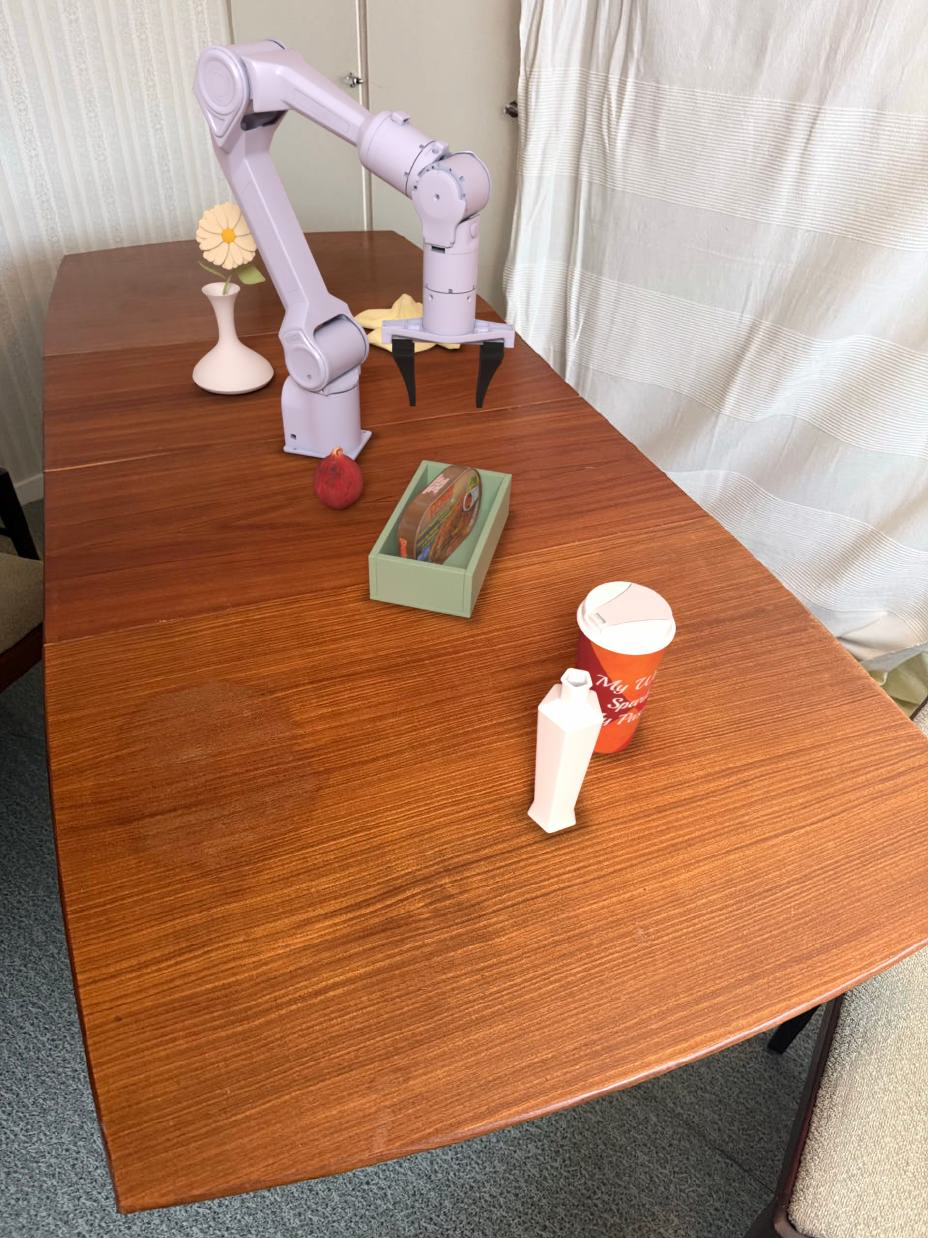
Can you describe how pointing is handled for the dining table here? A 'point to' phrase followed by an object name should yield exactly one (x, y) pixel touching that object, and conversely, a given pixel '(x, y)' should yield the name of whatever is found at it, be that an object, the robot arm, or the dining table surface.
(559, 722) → the white tall faceted bottle
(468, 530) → the tin
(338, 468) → the pomegranate
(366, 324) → the cloth
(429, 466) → the open rectangular box
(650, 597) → the paper cup
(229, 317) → the flower in vase
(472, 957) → the dining table surface
